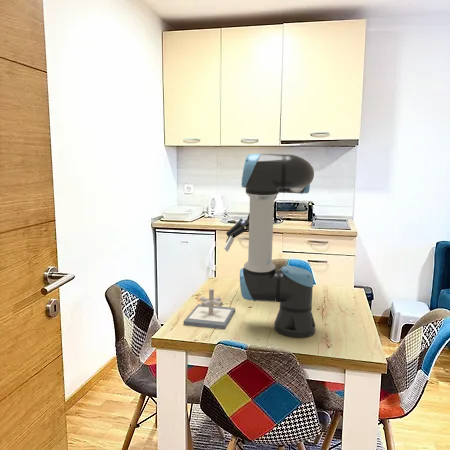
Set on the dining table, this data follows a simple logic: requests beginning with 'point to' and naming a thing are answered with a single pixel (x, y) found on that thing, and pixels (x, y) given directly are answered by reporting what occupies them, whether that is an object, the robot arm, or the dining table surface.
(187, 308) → the dining table surface
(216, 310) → the board
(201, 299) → the pipe connector
